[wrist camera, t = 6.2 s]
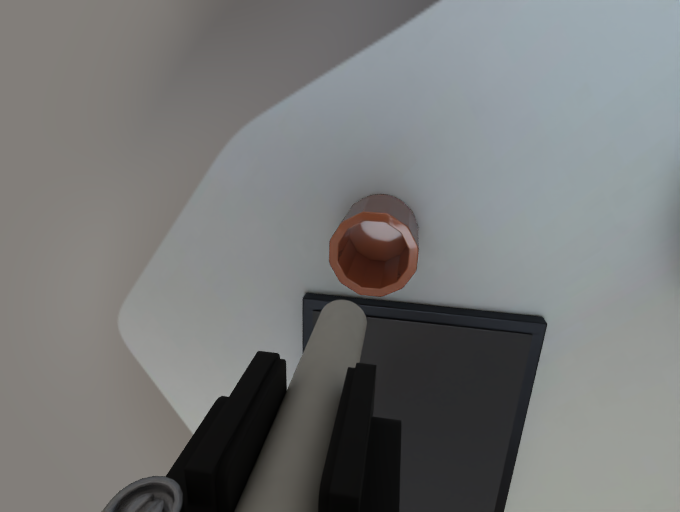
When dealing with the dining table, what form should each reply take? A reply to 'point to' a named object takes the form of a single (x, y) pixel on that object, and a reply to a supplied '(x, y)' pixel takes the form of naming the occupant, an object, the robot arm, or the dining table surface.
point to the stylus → (306, 416)
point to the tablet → (448, 395)
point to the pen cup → (375, 246)
